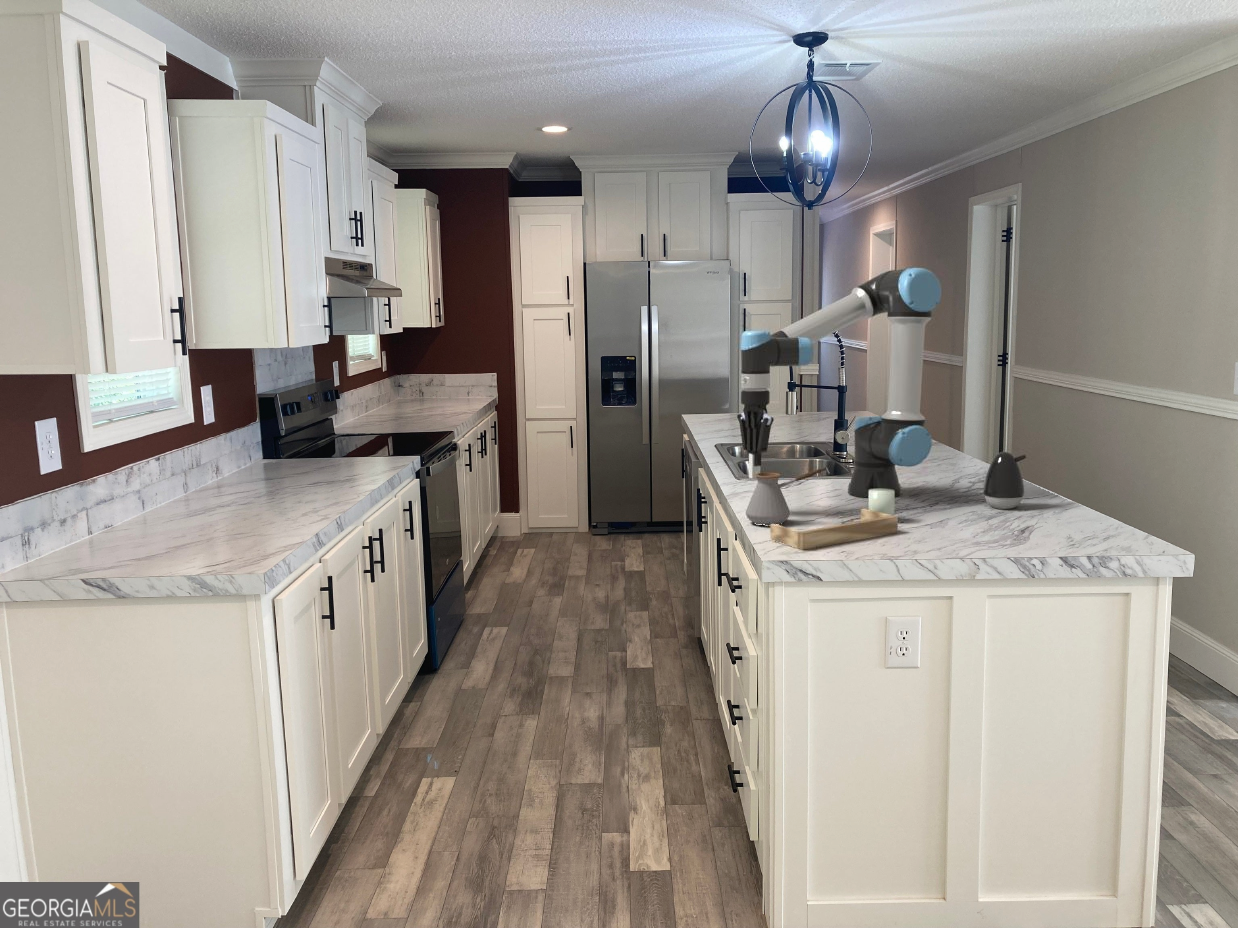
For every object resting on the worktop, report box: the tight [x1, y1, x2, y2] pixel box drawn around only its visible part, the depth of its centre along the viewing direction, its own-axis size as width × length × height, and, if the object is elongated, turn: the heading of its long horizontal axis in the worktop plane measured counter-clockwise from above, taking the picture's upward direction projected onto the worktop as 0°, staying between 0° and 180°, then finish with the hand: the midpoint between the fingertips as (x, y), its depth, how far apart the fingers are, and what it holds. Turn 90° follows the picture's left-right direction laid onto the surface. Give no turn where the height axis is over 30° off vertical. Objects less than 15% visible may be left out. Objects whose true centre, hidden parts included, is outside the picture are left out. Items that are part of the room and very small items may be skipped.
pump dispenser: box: [983, 451, 1027, 510], centre depth 251 cm, size 10×10×15 cm
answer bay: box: [769, 508, 899, 551], centre depth 225 cm, size 12×30×4 cm, turn 119°
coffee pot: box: [745, 466, 830, 525], centre depth 239 cm, size 21×12×15 cm, turn 77°
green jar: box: [867, 488, 896, 516], centre depth 240 cm, size 6×6×8 cm
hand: (754, 477), depth 250 cm, fingers closed
